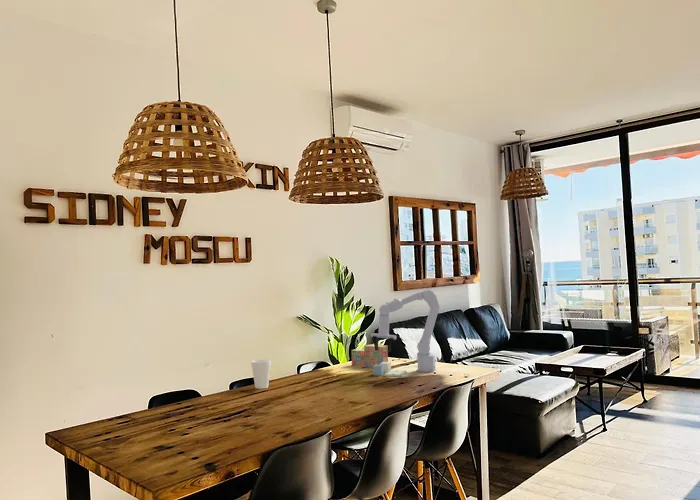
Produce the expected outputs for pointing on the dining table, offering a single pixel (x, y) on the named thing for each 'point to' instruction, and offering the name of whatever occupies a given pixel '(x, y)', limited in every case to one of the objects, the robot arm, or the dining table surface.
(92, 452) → the dining table surface
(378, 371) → the brick blue
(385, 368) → the brick cream
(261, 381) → the foam cup
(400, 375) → the build plate
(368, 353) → the stack of blocks
